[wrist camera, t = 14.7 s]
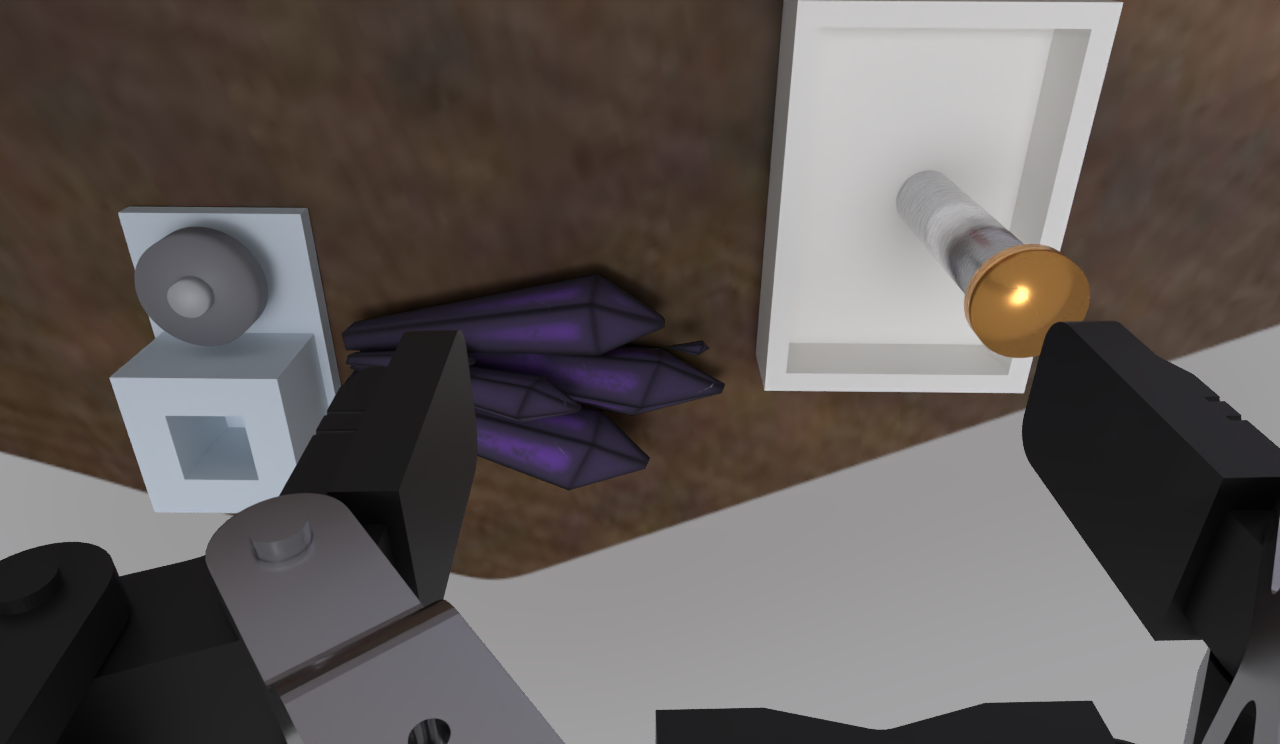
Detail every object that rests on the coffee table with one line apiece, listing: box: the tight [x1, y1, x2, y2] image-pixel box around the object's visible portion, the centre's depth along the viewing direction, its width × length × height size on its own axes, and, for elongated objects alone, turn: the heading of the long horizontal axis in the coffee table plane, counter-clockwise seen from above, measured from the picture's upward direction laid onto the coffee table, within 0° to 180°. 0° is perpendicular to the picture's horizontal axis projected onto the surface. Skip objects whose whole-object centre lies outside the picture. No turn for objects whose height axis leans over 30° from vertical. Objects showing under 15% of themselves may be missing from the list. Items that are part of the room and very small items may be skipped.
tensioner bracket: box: [109, 207, 341, 513], centre depth 43 cm, size 15×9×6 cm, turn 0°
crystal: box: [342, 274, 725, 490], centre depth 44 cm, size 7×12×20 cm
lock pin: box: [896, 170, 1090, 358], centre depth 35 cm, size 4×4×13 cm
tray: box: [756, 0, 1123, 393], centre depth 40 cm, size 18×13×4 cm
